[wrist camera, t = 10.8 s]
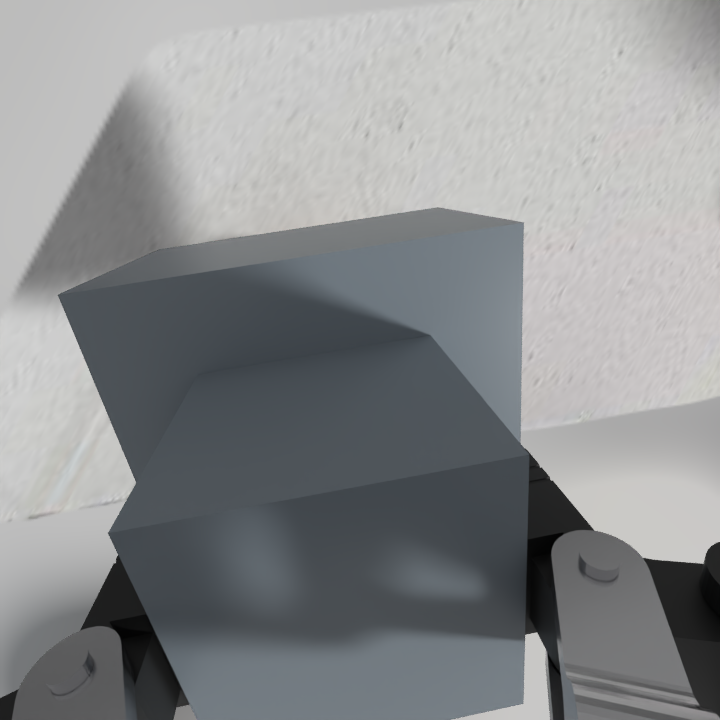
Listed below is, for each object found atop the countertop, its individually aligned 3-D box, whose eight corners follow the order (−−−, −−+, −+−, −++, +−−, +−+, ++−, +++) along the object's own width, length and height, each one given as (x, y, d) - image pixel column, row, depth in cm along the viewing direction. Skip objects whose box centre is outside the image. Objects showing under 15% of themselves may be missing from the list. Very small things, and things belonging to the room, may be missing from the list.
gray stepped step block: (438, 207, 16) (721, 257, 5) (451, 439, 20) (627, 745, 9) (158, 249, 15) (-197, 409, 4) (230, 479, 19) (134, 859, 8)
